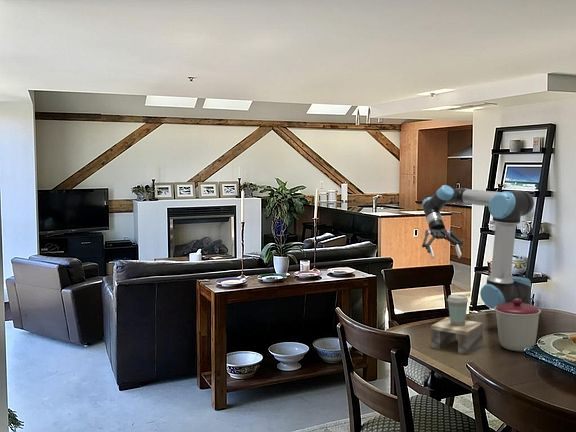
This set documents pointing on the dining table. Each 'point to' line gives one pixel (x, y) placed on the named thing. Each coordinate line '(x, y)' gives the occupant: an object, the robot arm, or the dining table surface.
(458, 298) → the coffee cup
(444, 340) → the shelf
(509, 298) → the robot arm
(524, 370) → the dining table surface
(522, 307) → the canister
